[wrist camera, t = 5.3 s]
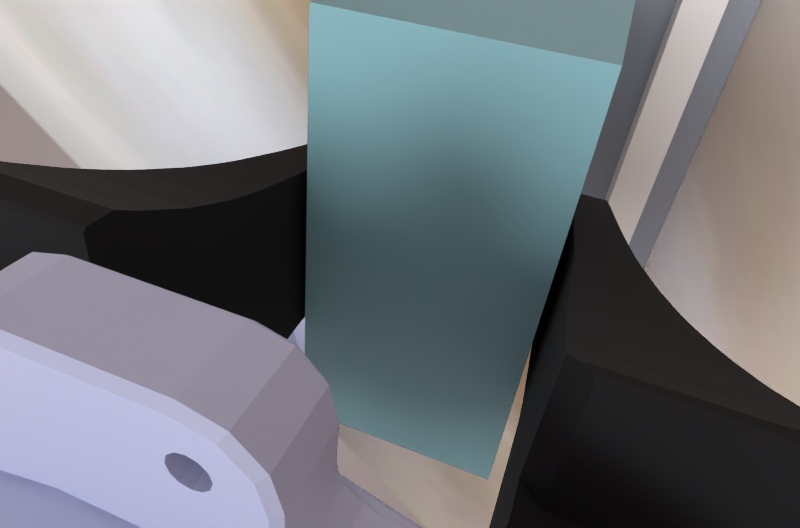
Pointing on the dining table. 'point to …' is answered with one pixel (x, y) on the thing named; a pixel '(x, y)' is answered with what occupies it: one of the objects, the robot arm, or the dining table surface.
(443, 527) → the dining table surface
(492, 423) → the block
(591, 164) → the cradle jig
